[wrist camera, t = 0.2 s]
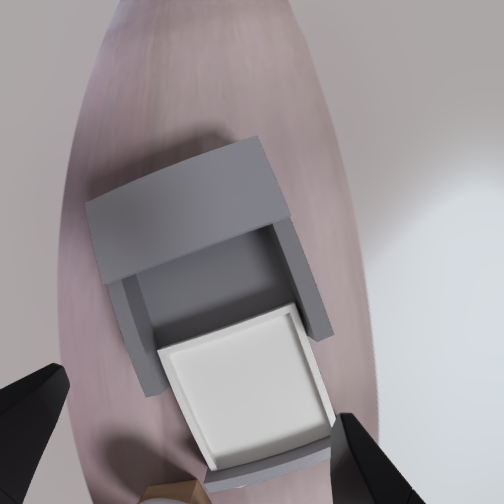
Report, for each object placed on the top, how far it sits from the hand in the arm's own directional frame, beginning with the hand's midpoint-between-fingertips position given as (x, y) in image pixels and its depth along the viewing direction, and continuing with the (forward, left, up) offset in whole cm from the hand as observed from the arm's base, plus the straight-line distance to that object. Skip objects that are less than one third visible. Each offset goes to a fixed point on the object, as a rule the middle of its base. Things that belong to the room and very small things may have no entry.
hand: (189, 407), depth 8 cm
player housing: (+6, 0, -14) cm, 15 cm away
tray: (-5, 0, -14) cm, 15 cm away
